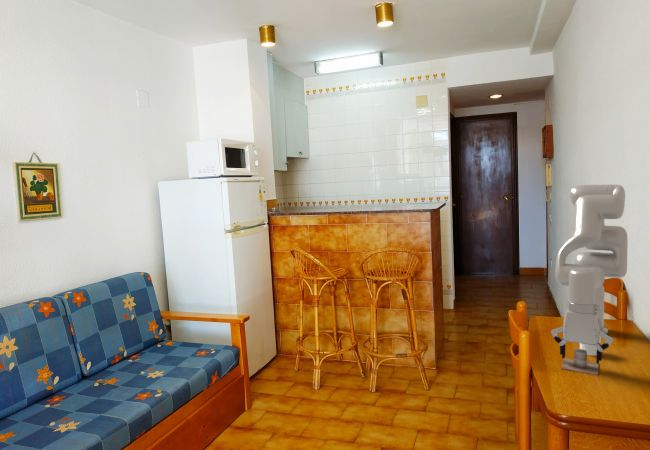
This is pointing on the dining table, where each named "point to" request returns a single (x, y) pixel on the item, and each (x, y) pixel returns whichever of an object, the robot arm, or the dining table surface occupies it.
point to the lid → (580, 363)
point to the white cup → (590, 348)
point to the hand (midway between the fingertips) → (580, 359)
